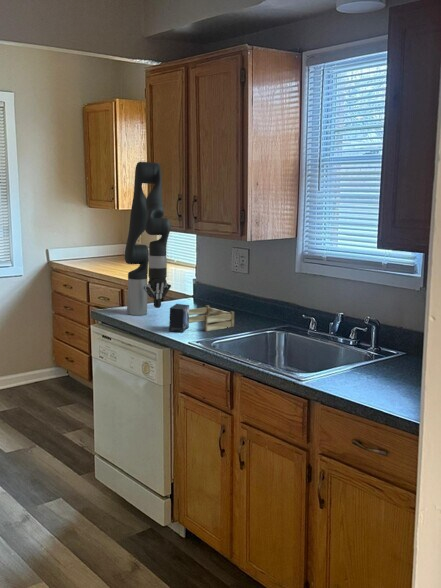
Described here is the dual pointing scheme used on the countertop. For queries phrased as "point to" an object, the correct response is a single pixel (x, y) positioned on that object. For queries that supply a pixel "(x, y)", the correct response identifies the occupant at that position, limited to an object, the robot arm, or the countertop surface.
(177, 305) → the small box
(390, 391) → the countertop surface
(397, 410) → the countertop surface
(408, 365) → the countertop surface
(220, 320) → the pine crate
